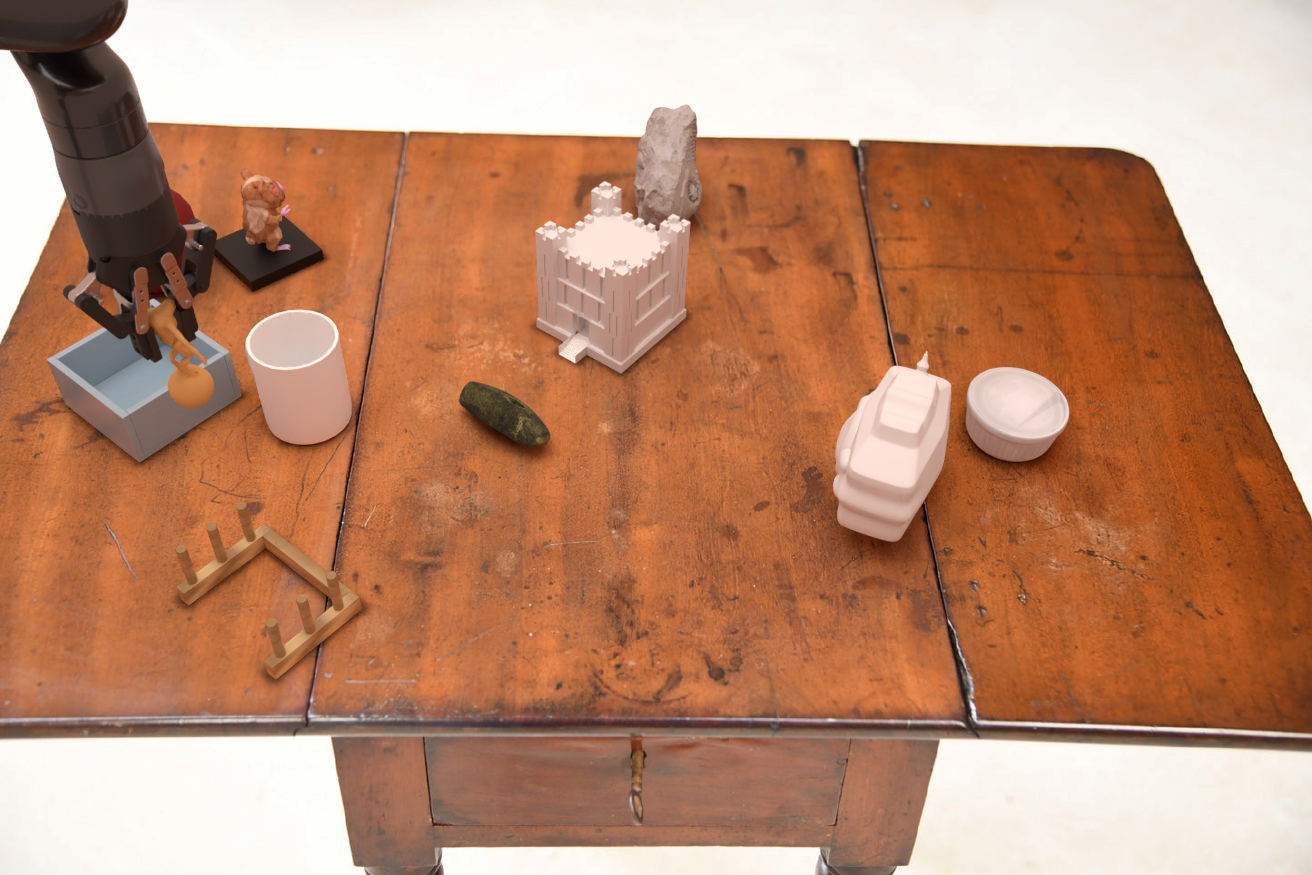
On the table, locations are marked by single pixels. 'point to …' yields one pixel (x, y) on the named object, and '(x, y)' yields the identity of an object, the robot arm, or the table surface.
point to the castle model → (611, 282)
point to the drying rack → (324, 581)
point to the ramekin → (1014, 413)
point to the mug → (300, 376)
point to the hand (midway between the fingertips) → (169, 346)
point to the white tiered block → (892, 451)
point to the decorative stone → (504, 414)
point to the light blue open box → (138, 389)
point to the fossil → (667, 167)
